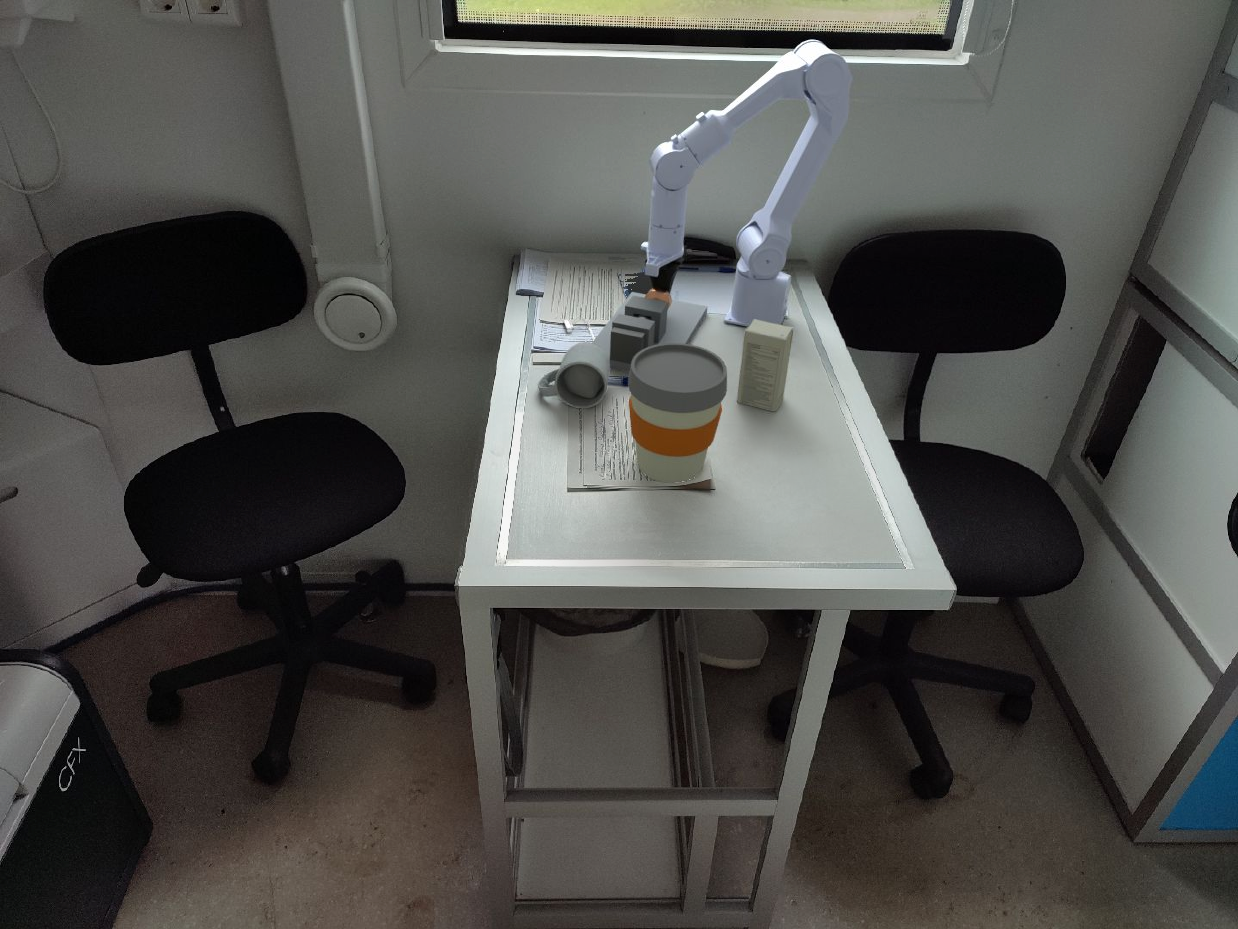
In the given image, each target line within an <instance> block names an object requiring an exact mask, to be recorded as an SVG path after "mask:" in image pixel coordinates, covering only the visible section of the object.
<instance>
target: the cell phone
mask: <svg viewBox="0 0 1238 929" xmlns="http://www.w3.org/2000/svg"><path fill="white" fill-rule="evenodd" d="M637 269H638V268H637ZM638 270H642V272H638V273H637V274H636V273H634V274H625V276H638V277H635V278H633V279H631V278H630V279H627V281H625V282H636V283H634V284H633V283H632V284H628V286H625V287H623V288H624V289H628V290H626V291H625V293H624V295H625V294H626V296H627V298H628V296H629V295H630V294H631V292H635V293H640V294H645V295H646V294H647V293H648V292H649V291H650V290H651V289H652V288H653V287H652V282H651V278H650V276H649V275H645V269H644V268H642V269H638ZM643 270H644V272H643ZM619 276H621V274H619ZM625 280H626V279H625ZM621 282H623V281H621ZM626 285H627V284H626ZM623 288H622V289H623ZM631 289H632V290H631ZM626 296H625V297H626Z"/></svg>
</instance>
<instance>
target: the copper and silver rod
mask: <svg viewBox="0 0 1238 929" xmlns="http://www.w3.org/2000/svg"><path fill="white" fill-rule="evenodd" d="M644 298H649V299H654V300H659V301H664V302H668V309H669V307H670V306H671V303H672V300H673V299H672V296H671V293H670V294H669V292H668V291H667V290H665V289H664V288H661V287H655V288H652V289H651V290H650V291H649V292H648V293H647V294H646V296H645V297H644ZM637 318H642V319H647V320H651V317H650V316H645V315H640V314H639V315H638V317H637Z"/></svg>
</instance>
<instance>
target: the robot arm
mask: <svg viewBox="0 0 1238 929" xmlns="http://www.w3.org/2000/svg"><path fill="white" fill-rule="evenodd" d="M853 81H854V79H853V76H852V74H851V71H850V68H849V65H848V64H847V61H846V60H845V58H844V57H843V56H841V55H840V54H839V53H836V52H834V51H832V50H831V49H830V48H828V47H827V46H826V44H824V43H823V42H822V41H820V40H816V39H808V40H805V41H802V42H800V44H798V45H797V46H796V47H795V48H794V49H793V51H789V52H787V53H786V54H784V55H782V57H781V58H780V59H779V60H778V61H777V62H776V63H775V65H773V67H771V68H770V70H768V71H767V72H766V73H765V74H764V75H762V76H761V77H760V78H759V79H757V80H756V81H755V82H754V83H753V84H752V85H751V86H750V87H748V88H747V89H746V90H744V92H742V94H740V96H738V97H737V98H736V99H734V100H733V101H732V102H731V103H730V104H729V105H728V106H726V108H724V109H723V110H715V109H710V110H708V112H706V113H704V112H703V111H702V112H700V113H698V114H697V115H696V116H695V118H696V121H694V123H692V124H691V125H690V126H688V127H687V128H686V129H685V130H682V132H681V133H680V134H678V135H677V134H674V135H672V136H671V137H670V141H668V142H667V141H665V142H663V143H661V144H659V145H658V146H657V147H656V148H655V149H654V150H653V152H652V155H651V157H650V158H649V166H650V168H651V170H652V172H653V177H652V184H651V187H652V189H651V192H650V193H651V194H650V207H649V226H648V227H649V228H648V239H647V241H644V242H642V244H641V245H640V250H642V251H645V252H646V258H645V260H644V268H645V275H649V276H650V278H651V282H652V287H653V288H655V287H661V288H664V289H665V290H667V291H668V292H669V294H670V295H671V292H672V287H673V285H674V281H675V279H676V275H677V273H678V271H679V268H680V267H681V265H682V264H683V262H684V257H683V255H684V250H685V249H684V238H685V226H686V214H687V212H686V211H687V202H688V194H687V193H688V185H689V184H691V182H692V181H693V178H694V175H695V172H696V170H697V169H700V168H701V167H702V166H703V165H704V164H706V163H707V162H708V161H710V160H711V159H712V158H714V156H716V155H717V154H719V153H720V152H722V151H723V150H724V149H725V148H727V147H728V146H729V145H730V144H732V143H733V140H734V137H735V136H734V135H735V132H736V130H737V129H738V128H740V127H742V126H743V125H745V124H746V123H747V122H748V121H750V120H752V119H753V118H755V117H756V116H757V115H759V114H760V113H761V112H763V111H765V110H766V109H768V108H770V107H771V106H772V105H773V104H775V103H776V102H778V101H779V100H781V99H794V100H797V99H798V100H803V99H805V101H806V105H807V107H808V110H809V113H810V116H809V118H808V120H807V122H806V124H805V126H804V127H803V128H804V129H803V130H802V131H801V134H800V136H799V137H798V140H797V141H796V143H795V146H794V148H793V149H792V152H791V153H790V155H789V158H788V160H787V161H786V163H785V165H784V167H783V169H782V171H781V172H780V175H779V177H778V178H777V181H776V183H775V185H774V186H773V189H772V191H771V193H770V195H769V197H768V198H767V200H766V203H765V204H764V207H762V208H761V209H759V210H758V211H756V212H755V213H754V214H753V215H752V218H751V219H750V221H749V222H748V223H746V224H745V225H744V226H743V227H741V229H740V230H739V232H738V233H737V236H736V240H735V242H736V243H735V244H736V248H737V251H738V252H739V253H740V254H741V255H740V258H739V259H738V262H737V264H736V269H735V270H736V271H735V277H734V286H733V293H732V298H731V299H732V300H731V305H730V307H729V310H728V312H727V314H726V315H725V317H724V319H723V321H724V322H725V323H728V324H731V325H733V324H734V325H739V326H742V327H743V326H744V327H748V326H749V324H750V323H751V322H752V321H753V320H754V319H757V320H762V321H767V322H772V323H776V324H781V325H782V323H783V320H784V318H785V317H786V316H787V310H788V306H787V305H788V300H789V294H790V291H791V290H790V289H791V284H792V282H791V281H792V275H790V274H787V273H785V272H782V270H783V269H784V267H785V264H786V261H787V252H788V249H789V246H790V244H791V243H792V228H793V223H794V221H795V220H796V217H797V215H798V214H799V212H800V210H801V208H802V206H803V204H804V202H805V201H806V199H807V197H808V195H809V193H810V191H811V189H812V187H813V186H814V183H815V181H816V180H817V178H818V176H819V174H820V172H821V170H822V169H823V166H824V165H825V164H826V161H827V160H828V157H829V156H830V154H831V153H832V152H831V151H832V150H833V148H834V146H835V145H836V142H837V141H838V138H840V137H839V136H840V135H841V133H842V131H844V130H843V129H844V128H845V126H846V124H847V122H848V118H849V112H850V111H849V110H850V88H851V85H852V83H853Z"/></svg>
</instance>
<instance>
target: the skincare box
mask: <svg viewBox="0 0 1238 929" xmlns="http://www.w3.org/2000/svg"><path fill="white" fill-rule="evenodd" d="M794 329H795V328H794V327H793V326H789V325H785V324H782V323H781V324H776V323H772V322H767V321H762V320H757V319H754V320H753V321H752V322H751V323H750V324H749V326H746V327H745V329H744V335H743V336H744V337H743V345H742V352H741V361H740V362H741V363H740V371H739V379H738V389H737V397H736V398H737V399H736V402H737V403H740V404H743V405H747V406H750V407H754V408H759V409H763V410H767V411H771V412H776V411H777V410H778V409H779V407H780V405H781V404H782V401H783V399H784V396H785V388H786V382H787V376H788V369H789V362H790V357H791V350H792V343H793V337H794V336H793V335H794Z"/></svg>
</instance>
